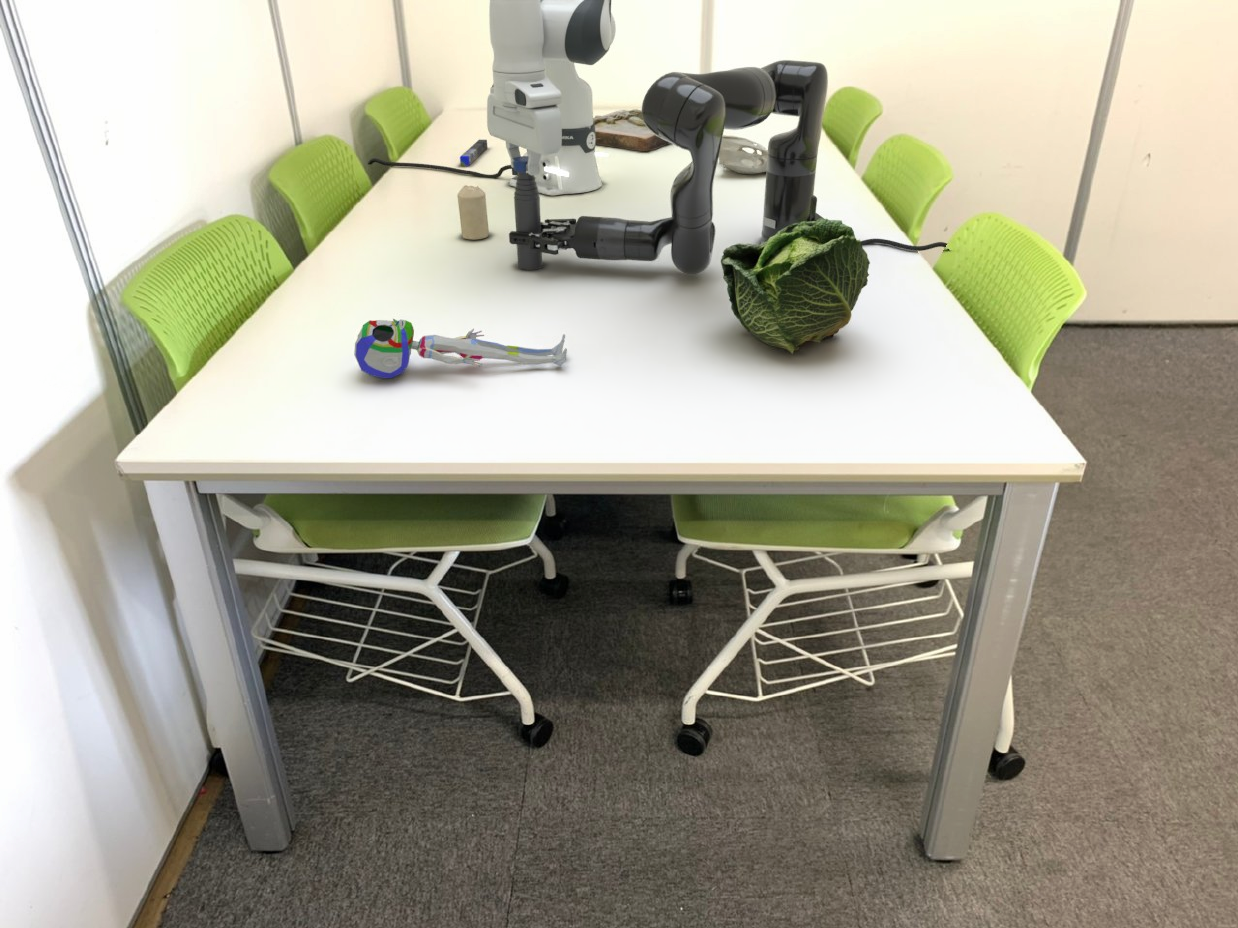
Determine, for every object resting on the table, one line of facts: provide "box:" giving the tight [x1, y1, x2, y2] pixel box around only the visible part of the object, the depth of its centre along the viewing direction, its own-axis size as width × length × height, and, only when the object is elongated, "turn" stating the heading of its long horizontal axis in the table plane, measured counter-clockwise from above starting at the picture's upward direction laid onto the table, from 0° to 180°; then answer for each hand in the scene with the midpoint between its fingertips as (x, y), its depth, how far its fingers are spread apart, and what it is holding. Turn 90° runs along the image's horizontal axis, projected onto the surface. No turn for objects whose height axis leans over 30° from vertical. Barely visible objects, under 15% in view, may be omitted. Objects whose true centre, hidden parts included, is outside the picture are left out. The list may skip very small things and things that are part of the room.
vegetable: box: [720, 217, 871, 354], centre depth 134 cm, size 20×19×20 cm
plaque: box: [593, 108, 670, 152], centre depth 257 cm, size 30×7×30 cm
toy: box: [353, 318, 568, 379], centre depth 130 cm, size 10×8×30 cm
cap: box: [513, 155, 529, 173], centre depth 159 cm, size 4×4×2 cm
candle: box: [456, 184, 490, 240], centre depth 181 cm, size 6×6×10 cm
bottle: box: [513, 172, 543, 271], centre depth 163 cm, size 5×5×19 cm
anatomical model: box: [718, 134, 768, 175], centre depth 221 cm, size 15×9×25 cm
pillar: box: [459, 139, 488, 167], centre depth 240 cm, size 2×2×20 cm
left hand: (524, 171), depth 159 cm, fingers closed on cap, 4 cm apart
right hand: (514, 233), depth 166 cm, fingers closed on bottle, 4 cm apart
